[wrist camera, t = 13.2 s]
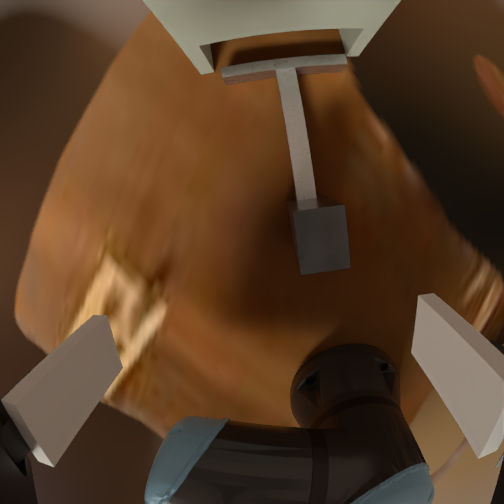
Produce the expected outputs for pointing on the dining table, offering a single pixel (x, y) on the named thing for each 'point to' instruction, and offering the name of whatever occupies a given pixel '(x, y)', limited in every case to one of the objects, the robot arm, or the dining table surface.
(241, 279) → the dining table surface
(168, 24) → the cabinet
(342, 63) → the scraper
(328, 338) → the dining table surface
